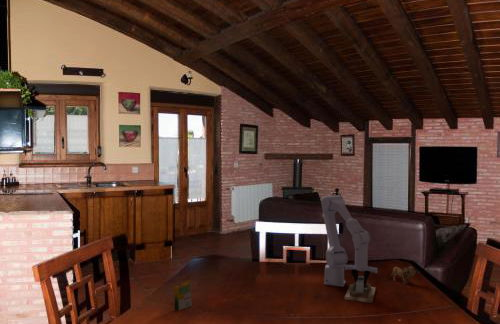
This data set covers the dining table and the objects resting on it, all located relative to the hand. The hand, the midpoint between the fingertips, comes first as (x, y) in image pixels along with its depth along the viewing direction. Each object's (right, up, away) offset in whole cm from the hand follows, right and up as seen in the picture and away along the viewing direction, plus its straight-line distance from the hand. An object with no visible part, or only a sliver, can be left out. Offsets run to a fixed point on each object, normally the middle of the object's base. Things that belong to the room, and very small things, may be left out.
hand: (360, 286), depth 197 cm
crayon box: (-80, -5, -16) cm, 82 cm away
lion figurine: (+26, -3, +19) cm, 32 cm away
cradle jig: (0, -4, 0) cm, 4 cm away
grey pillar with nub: (0, -2, 0) cm, 2 cm away
